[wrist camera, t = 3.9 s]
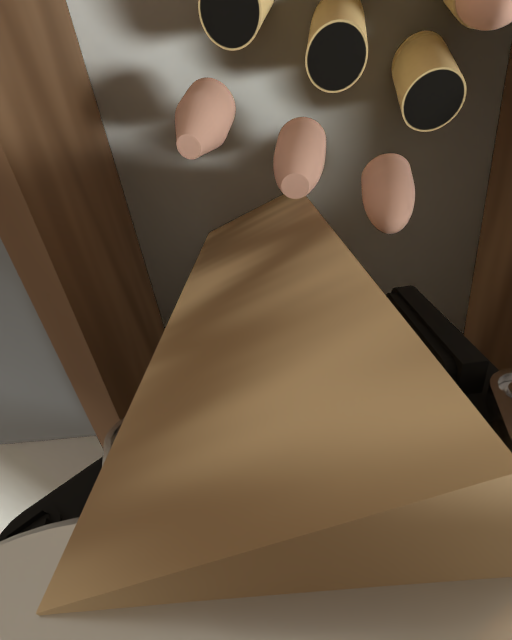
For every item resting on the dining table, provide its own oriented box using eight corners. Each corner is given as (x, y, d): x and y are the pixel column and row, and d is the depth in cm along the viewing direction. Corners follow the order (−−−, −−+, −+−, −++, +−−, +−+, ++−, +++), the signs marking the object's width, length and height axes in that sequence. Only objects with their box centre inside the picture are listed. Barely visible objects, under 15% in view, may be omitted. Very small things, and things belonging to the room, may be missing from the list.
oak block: (298, 186, 14) (526, 468, 2) (376, 373, 18) (595, 806, 6) (208, 232, 15) (35, 612, 3) (303, 401, 19) (381, 827, 7)
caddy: (631, -406, 8) (1422, -1545, 2) (472, 399, 19) (555, 506, 13) (-45, -234, 9) (-482, -753, 4) (176, 427, 20) (145, 535, 15)
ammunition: (496, -51, 10) (368, 211, 14) (259, -177, 9) (187, 142, 13) (655, -172, 6) (414, 246, 10) (259, -427, 5) (152, 149, 9)
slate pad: (54, 143, 13) (45, 143, 13) (156, 422, 20) (153, 430, 19) (-189, 181, 14) (-207, 184, 13) (-12, 438, 20) (-19, 446, 20)
